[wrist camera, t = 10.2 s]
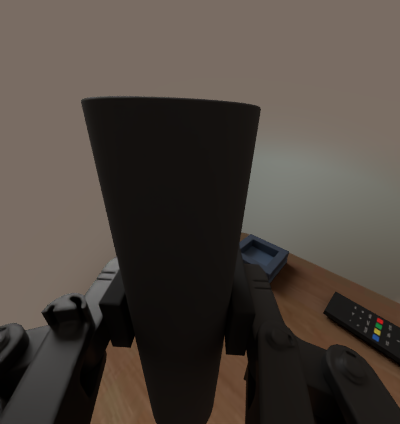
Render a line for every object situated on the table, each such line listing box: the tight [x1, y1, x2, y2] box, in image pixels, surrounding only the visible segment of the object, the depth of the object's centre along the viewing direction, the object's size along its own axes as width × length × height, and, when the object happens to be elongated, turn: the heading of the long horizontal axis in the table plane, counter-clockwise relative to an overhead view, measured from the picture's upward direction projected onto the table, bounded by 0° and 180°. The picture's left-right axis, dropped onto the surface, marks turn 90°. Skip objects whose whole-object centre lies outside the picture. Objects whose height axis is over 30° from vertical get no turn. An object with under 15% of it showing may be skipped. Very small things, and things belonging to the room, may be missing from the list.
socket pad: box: [239, 234, 289, 283], centre depth 38 cm, size 9×9×3 cm
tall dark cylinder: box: [81, 96, 261, 424], centre depth 8 cm, size 4×4×16 cm
